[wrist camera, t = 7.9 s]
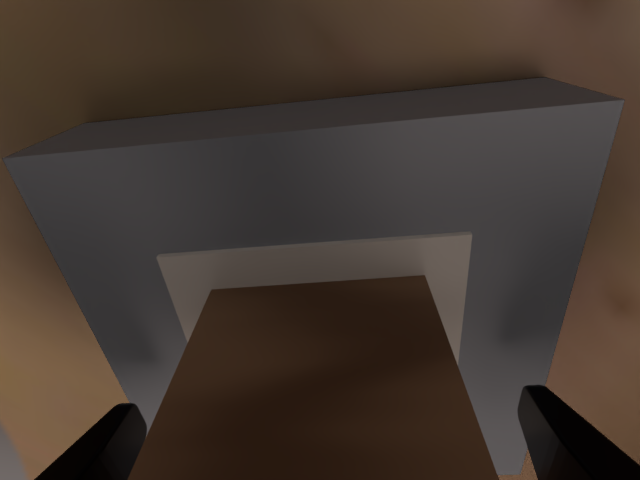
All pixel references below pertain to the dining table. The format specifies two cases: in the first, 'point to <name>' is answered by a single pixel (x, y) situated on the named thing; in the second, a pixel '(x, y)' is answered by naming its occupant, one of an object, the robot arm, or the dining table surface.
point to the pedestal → (334, 220)
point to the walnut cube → (317, 390)
